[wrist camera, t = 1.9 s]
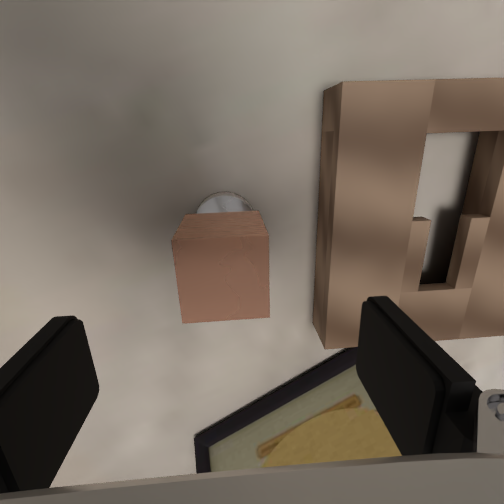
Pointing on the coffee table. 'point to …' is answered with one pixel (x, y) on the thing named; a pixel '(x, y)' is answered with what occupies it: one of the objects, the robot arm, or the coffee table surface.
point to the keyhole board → (407, 208)
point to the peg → (222, 261)
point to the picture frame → (301, 425)
